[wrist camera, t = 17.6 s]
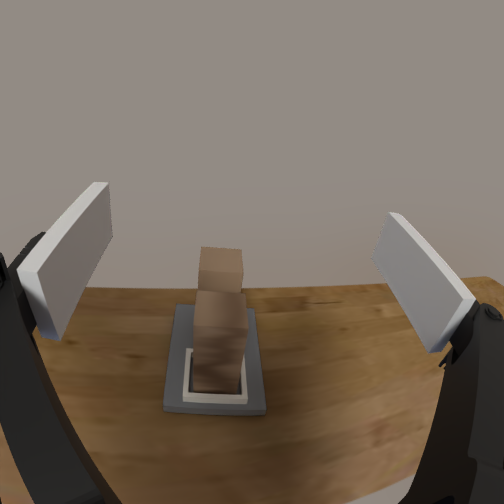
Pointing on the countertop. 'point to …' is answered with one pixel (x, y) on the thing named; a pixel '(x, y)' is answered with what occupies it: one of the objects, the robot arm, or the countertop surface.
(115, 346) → the countertop surface
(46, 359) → the countertop surface
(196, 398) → the baseplate
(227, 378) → the pillar
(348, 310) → the countertop surface
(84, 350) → the countertop surface
